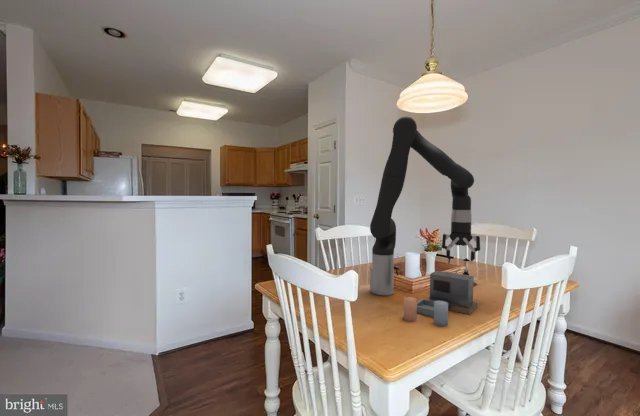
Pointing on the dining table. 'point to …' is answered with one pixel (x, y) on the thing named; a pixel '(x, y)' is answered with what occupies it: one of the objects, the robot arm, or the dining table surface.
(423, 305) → the tray
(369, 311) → the dining table surface
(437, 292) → the unit
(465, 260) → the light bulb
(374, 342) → the dining table surface
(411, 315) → the terracotta part
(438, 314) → the slate part
